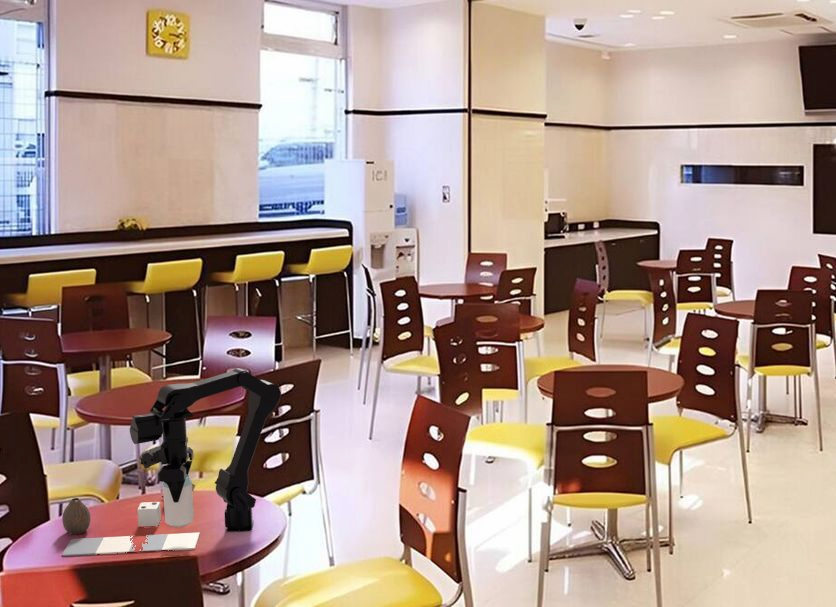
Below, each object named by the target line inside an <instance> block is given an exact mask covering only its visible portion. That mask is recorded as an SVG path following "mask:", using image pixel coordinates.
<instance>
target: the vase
mask: <svg viewBox="0 0 836 607" xmlns="http://www.w3.org/2000/svg"><path fill="white" fill-rule="evenodd" d="M61 520H62V525H63V528H64V530H65V531H66V532H67V533H69V534H70V535H73V536H74V535H81V534H83V533H85V532H86V531H87V530H88V529H89V527H90V525H91V512H90V510H89V509H88V507H87V506H86V504H84V503H83V501H82V500H81V498H79V497H73V498H71V499H69V502H68V504H67V506H65V508H64V510H63V512H62V517H61Z"/></svg>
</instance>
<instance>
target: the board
mask: <svg viewBox="0 0 836 607" xmlns="http://www.w3.org/2000/svg"><path fill="white" fill-rule="evenodd" d="M200 534H201V532H185V533H184V532H182V533H165V534H145V535H146V538H147V539H148V540H147V539H146V540H145V542H148V544H147V543H145V544H143V543H142V547H143V550H142V551H156V550H157V551H156V552H161V551H160V550H168V551H167V552H170V551H169V550H173V552H174V550H175V551H189V550H190V551H192V550H196V547H197V544H198V541H199V537H200ZM130 536H131V537H130ZM133 536H134V535H126V536H105V537H104V536H102V537H87V538H86V537H85V538H83V537H82V538H71V540H70V541H69V542H68V544H67V546H66V548H65V549H64V551H63V552H62V554H61V557H76V556H79V557H80V556H96V555H97V554H100V555H117V553H118V554H128V553H127V552H132V551H134V550H135V548H134V547H136V545H135V546H134V547H133V544H134V543H133V542H132V540H133V539H132V540H131V541H130V538H132V537H133ZM147 536H148V537H147ZM131 542H132V543H131ZM132 547H133V549H132ZM139 551H141V549H140V550H139ZM125 552H126V553H125Z"/></svg>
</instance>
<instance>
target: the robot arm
mask: <svg viewBox="0 0 836 607" xmlns="http://www.w3.org/2000/svg"><path fill="white" fill-rule="evenodd" d="M240 387H241V388H242V389H244V390H245V391H247V392H249V395H248V399H247V404H248V414H247V416H246V419H245V422H244V425H243V428H242V430H241V434H240V436H239V439H238V441H237V444H236V447H235V451H234V454H233V456H232V458H231V462H230V464H229V465H228V466H227V468H226V469H223V468H220V469H219V471H218V474H217V476H218V477H217V479H216V480H215V481H214V484H215V491H216V494H217V495H218V496H219V497H220V498H221V499H222V500H223V503H225V504H226V507H225V510H224V527H225V529H226V532H227V533H235V532H236V533H237V532H251V531H253V528H254V520H253V508H254V507H255V506H256V502H257V500H256V498H255V497H254V496H252V495H251V494H249V493H248V488H249V469H250V466H251V463H252V460H253V458H254V455H255V452H256V449H257V446H258V443H259V440H260V438H261V434H262V432H263V429H264V426H265V422H266V421H267V418H268V417H269V416H270V415H271V414H272V413H273V412H274V411H275V408H277V406H278V403H279V402H280V400H281V396H282V392H281V389H280V388H279V386H278V385H276V384H275V383H272V382H270V381H267V380H264V379H260V378H257V377H255V376H254V375H253V374H250V372H249V371H247V370H245V369H242V368H235V369H234V368H233V370H230V371H227V372H224V373H220V374H217V375H214V376H211V377H208V378H204V379H201V380H197V381H195V382H189V383H185V382H184V383H174V384H172V383H170V384H166V385H163V386H162V387H161V388H160V390H158V392H157V397H156V400H155V402H154V403H153V405H152V407H151V408H150V410H149V413H146V414H140V415H139V414H135V415H132V417H131V418H132V421H131V422H130V425H129V426H130V427H129V435H130V439H131V441H132V443H133V444H134V445H140V444H143V443H145V444H146V443H150V442H155V441H158V440H160V438H162V443H160V445H158V446H155V447H153V448H150V449H147V450H145V451H143V452H141V454H140V456H139V459H140V461H139V462H140V465H141V466H143V468H144V469H145V470H147V469H149V468H150V467H152V466H154V465H157V464H159V463H160V465H162V467H160V469H159V471H158V472H157V480H158V482H162V483H164V482H165V483H166V484H167V485H168V487H169V490H170V493H171V496H172V499H173V501H174V503H176V502H179V498H180V495H181V492H182V489H183V486H184V483H185V480H186V477H187V475H189V473H190V472H191V471H190V470H191V467H192V464H193V460H194V449H192V448H191V447H189V446H188V443H189V437H188V435H187V423H186V420H187V419H189V418H193V417H194V416H195V414H194V413H193V412H191V411H190V410H189V408H190V407H191V406H193V405H194V404H195V403H197V402H198V401H200V400H202V399H205V398H208V397H211V396H214V395H217V394H221V393H225V392H227V391H230V390H234V389H236V388H240ZM186 474H187V475H186Z"/></svg>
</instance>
